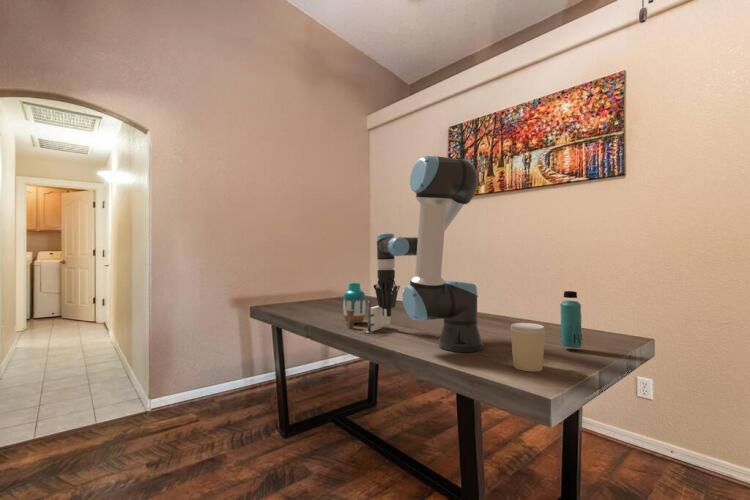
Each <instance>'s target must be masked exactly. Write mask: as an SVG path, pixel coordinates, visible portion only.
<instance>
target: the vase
mask: <svg viewBox="0 0 750 500" xmlns="http://www.w3.org/2000/svg"><path fill="white" fill-rule="evenodd" d="M366 304H367V302H366V295H365V292H364V291H363V290H362V289H361V283H360V282H349V283H348V290H346V291H345V292H344V293H343V301H342V307H343V309H342V312H343V317H344V320H345V322H347V310H351V309H352V310H354V324H355V325H356V324H360V323H362V322H363V321H365V317H366V306H367V305H366Z"/></svg>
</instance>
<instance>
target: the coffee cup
mask: <svg viewBox="0 0 750 500" xmlns="http://www.w3.org/2000/svg"><path fill="white" fill-rule="evenodd" d="M509 328H510V336H511V337H510V338H511V339H510V340H511V350H512V362H513V367H514V368H515V369H517V370H521V371H524V372H525V371H526V372H541V371H542V370H543V367H544V366H543V365H544V356H545V355H544V354H545V353H544V352H545V351H544V350H545V337H546V334H545V333H546V328H545V326H543V325H542V324H538V323H532V322H516V323H512V324H511V326H510V327H509Z"/></svg>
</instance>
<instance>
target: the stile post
mask: <svg viewBox="0 0 750 500" xmlns="http://www.w3.org/2000/svg"><path fill="white" fill-rule="evenodd" d="M346 322H347V329H348V330H352V329H353V330H354V326H355V325H354V310H352V309H351V310H347V321H346Z"/></svg>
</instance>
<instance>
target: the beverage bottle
mask: <svg viewBox="0 0 750 500" xmlns="http://www.w3.org/2000/svg"><path fill="white" fill-rule="evenodd" d="M563 298H565V299H566V298H567V299H578V292H577V291H572V290H567V291H563ZM581 307H582V304H580V302H579V301H577V300H563V301H562V302H561V303H560V328H559V329H560V332H559V334H560V338H559V339H560V344H561V346H563V347H565V348H571V349H579V348H581V347H582V344H583V343H582V342H583V334H582V323H583V322H582V308H581Z"/></svg>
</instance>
